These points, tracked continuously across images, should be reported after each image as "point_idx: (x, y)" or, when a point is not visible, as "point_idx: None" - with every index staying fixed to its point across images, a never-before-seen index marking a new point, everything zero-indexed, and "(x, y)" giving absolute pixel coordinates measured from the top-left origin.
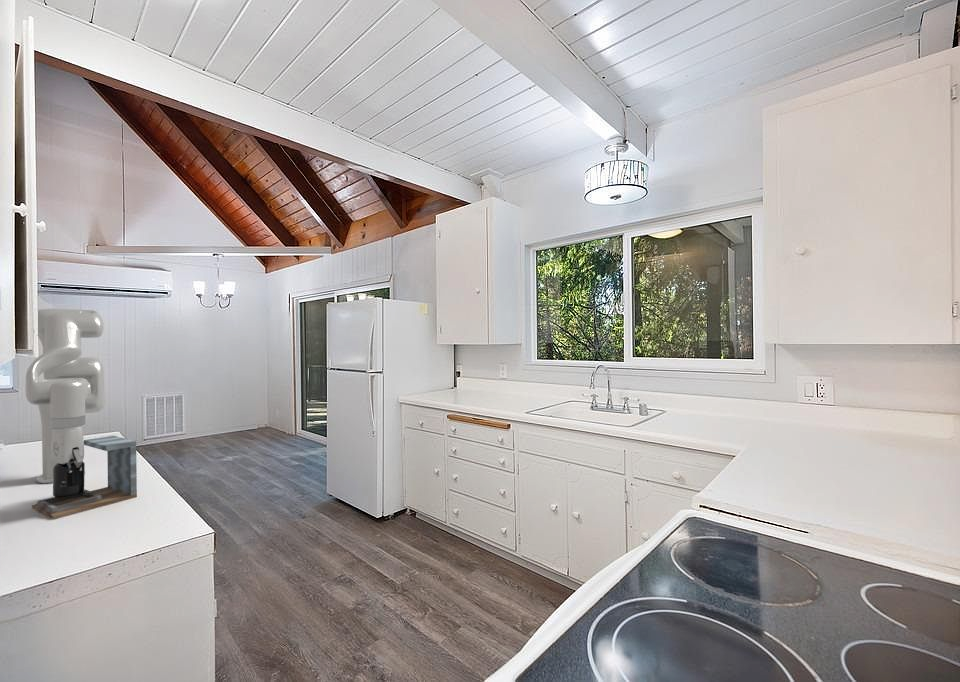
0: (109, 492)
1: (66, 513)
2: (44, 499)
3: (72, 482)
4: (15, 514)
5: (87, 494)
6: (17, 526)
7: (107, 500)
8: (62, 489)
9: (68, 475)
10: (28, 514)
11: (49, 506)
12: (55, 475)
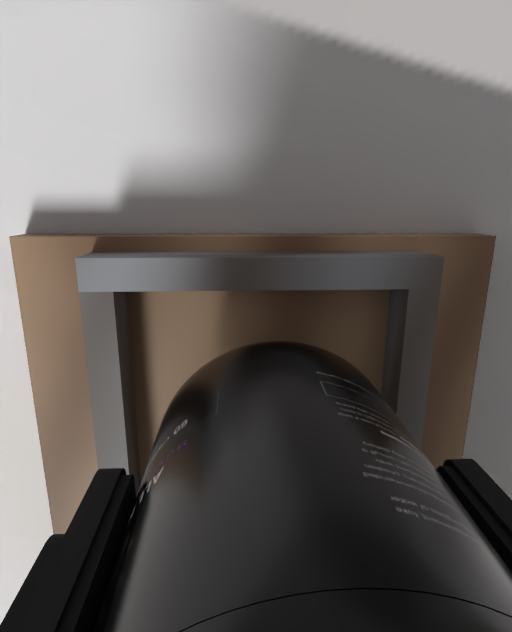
0: None
1: (24, 317)
2: (430, 302)
3: (46, 542)
4: (444, 117)
5: None
6: (79, 22)
7: None
8: (173, 417)
9: (31, 618)
10: (346, 173)
11: (152, 261)
12: (252, 497)
